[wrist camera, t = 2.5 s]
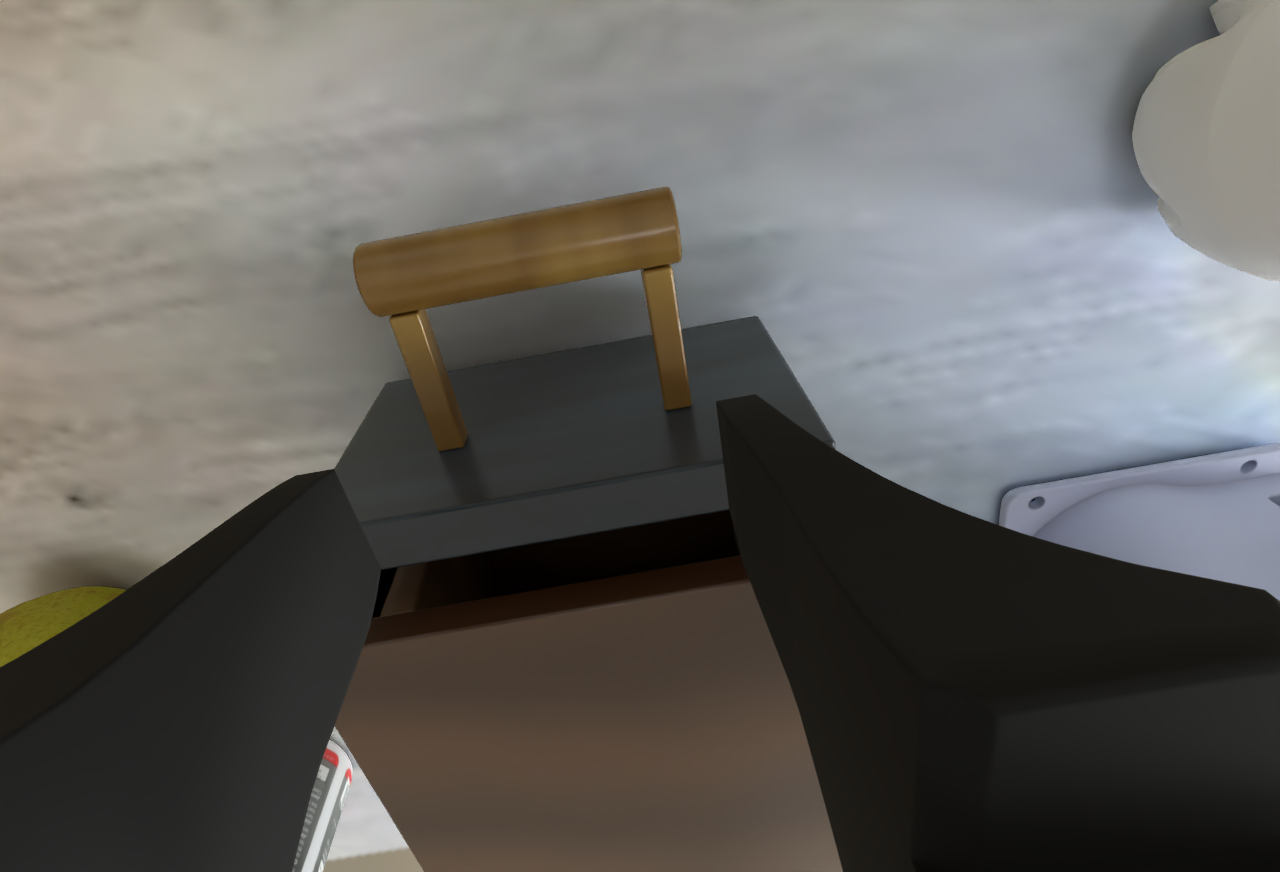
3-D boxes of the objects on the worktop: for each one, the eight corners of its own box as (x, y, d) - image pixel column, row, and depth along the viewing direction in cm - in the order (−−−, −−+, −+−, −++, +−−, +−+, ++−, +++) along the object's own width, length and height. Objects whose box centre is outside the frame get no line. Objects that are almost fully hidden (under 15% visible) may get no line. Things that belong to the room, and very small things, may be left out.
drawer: (319, 216, 17) (169, 312, 11) (743, 136, 16) (830, 190, 10) (504, 684, 25) (478, 880, 19) (784, 637, 25) (845, 822, 19)
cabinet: (398, 437, 21) (290, 658, 13) (777, 369, 20) (885, 557, 13) (514, 722, 27) (485, 975, 20) (799, 676, 27) (877, 914, 20)
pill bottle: (208, 741, 27) (68, 998, 20) (318, 712, 26) (216, 964, 19) (274, 807, 29) (170, 1058, 22) (375, 782, 29) (304, 1030, 22)
